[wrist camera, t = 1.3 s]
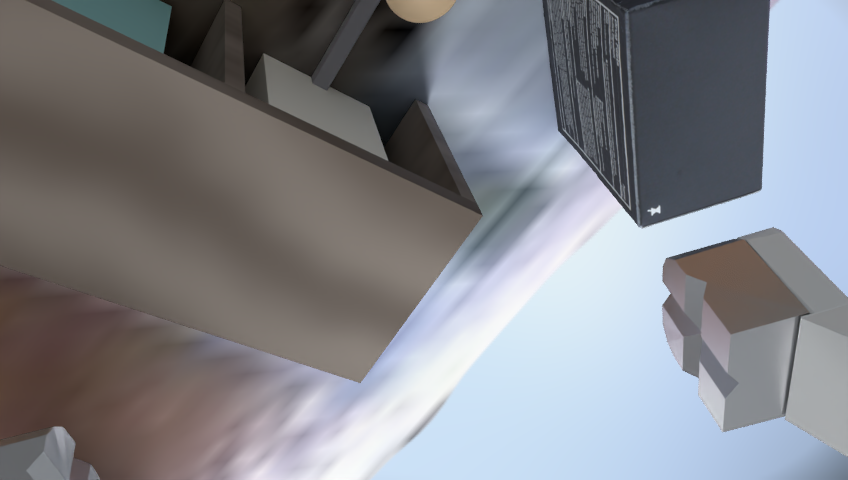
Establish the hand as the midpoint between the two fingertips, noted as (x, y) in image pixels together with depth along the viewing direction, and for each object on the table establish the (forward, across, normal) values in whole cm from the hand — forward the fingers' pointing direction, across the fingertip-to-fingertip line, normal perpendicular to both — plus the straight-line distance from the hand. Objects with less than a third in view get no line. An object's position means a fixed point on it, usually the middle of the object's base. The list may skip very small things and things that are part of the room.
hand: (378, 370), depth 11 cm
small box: (+30, -15, +11) cm, 35 cm away
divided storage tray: (+30, +7, +8) cm, 32 cm away
